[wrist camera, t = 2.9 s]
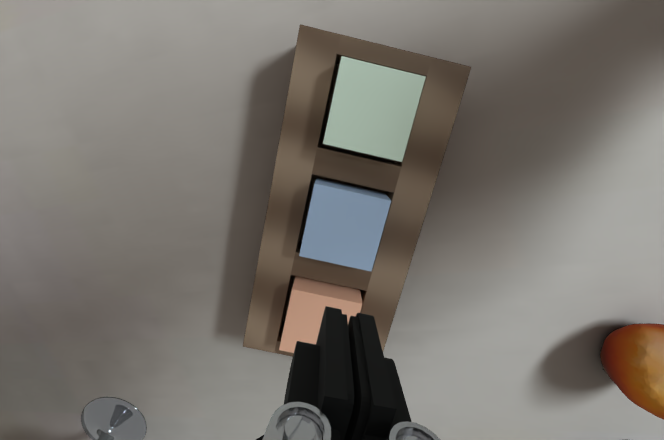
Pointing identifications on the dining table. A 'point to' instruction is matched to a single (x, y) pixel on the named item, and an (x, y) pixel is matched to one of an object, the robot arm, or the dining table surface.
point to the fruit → (637, 364)
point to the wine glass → (113, 420)
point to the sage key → (373, 109)
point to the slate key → (344, 224)
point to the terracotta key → (315, 309)
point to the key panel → (348, 181)
